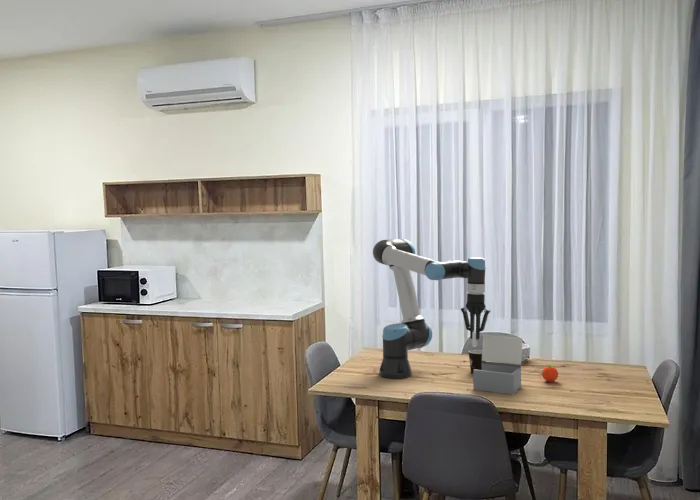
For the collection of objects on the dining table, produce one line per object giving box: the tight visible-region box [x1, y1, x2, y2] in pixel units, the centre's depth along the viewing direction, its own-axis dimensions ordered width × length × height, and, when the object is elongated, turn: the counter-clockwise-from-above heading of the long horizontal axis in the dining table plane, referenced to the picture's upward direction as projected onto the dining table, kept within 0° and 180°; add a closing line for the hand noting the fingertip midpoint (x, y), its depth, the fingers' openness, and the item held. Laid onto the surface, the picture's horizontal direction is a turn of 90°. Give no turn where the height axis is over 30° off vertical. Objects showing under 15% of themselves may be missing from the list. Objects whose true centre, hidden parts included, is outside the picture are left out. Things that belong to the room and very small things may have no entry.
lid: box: [481, 334, 523, 366], centre depth 274 cm, size 17×12×2 cm
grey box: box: [472, 361, 522, 395], centre depth 268 cm, size 17×13×10 cm
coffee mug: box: [468, 349, 482, 374], centre depth 295 cm, size 12×9×10 cm
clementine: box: [541, 365, 559, 383], centre depth 277 cm, size 8×7×7 cm
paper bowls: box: [521, 342, 531, 363], centre depth 318 cm, size 15×15×8 cm
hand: (474, 346), depth 272 cm, fingers closed
